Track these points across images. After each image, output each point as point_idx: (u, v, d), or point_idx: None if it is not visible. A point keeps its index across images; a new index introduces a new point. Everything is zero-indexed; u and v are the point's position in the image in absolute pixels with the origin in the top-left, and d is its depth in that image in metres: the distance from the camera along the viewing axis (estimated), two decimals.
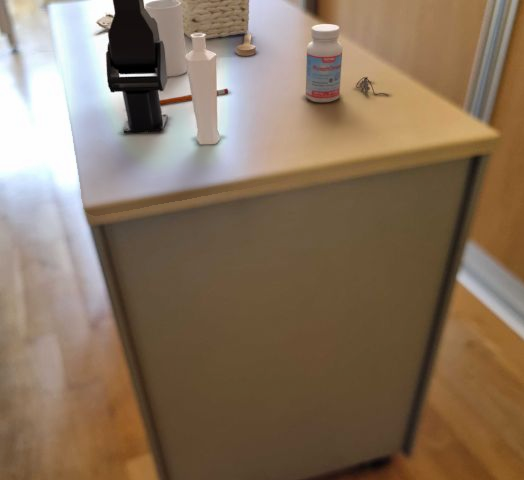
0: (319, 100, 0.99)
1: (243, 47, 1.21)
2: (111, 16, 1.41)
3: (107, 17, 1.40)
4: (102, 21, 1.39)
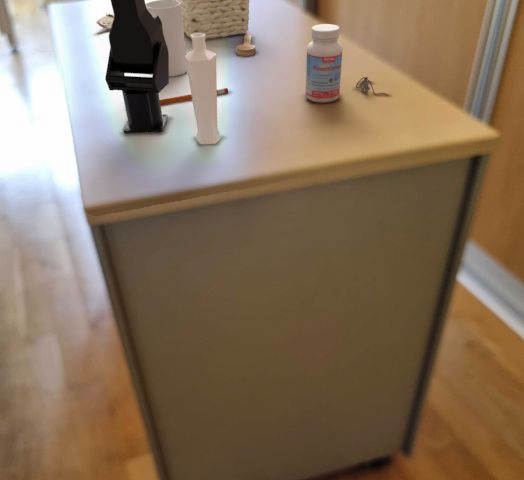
0: (319, 100, 0.99)
1: (243, 47, 1.21)
2: (111, 16, 1.41)
3: (107, 17, 1.40)
4: (102, 21, 1.39)
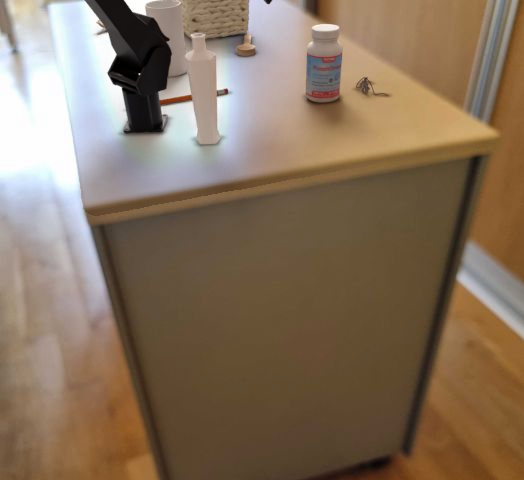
0: (319, 100, 0.99)
1: (243, 47, 1.21)
2: None
3: None
4: None
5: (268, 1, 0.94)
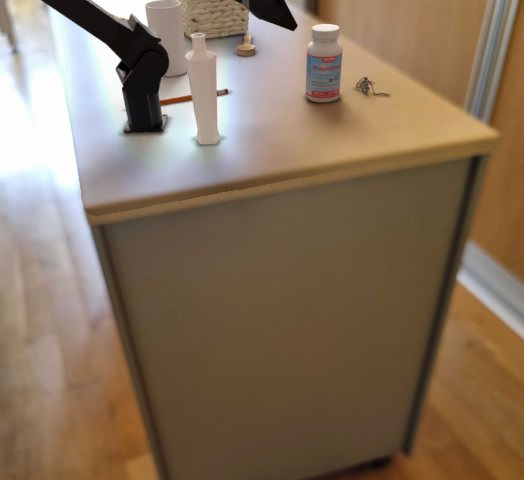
0: (319, 100, 0.99)
1: (243, 47, 1.21)
2: None
3: None
4: None
5: (291, 29, 0.88)
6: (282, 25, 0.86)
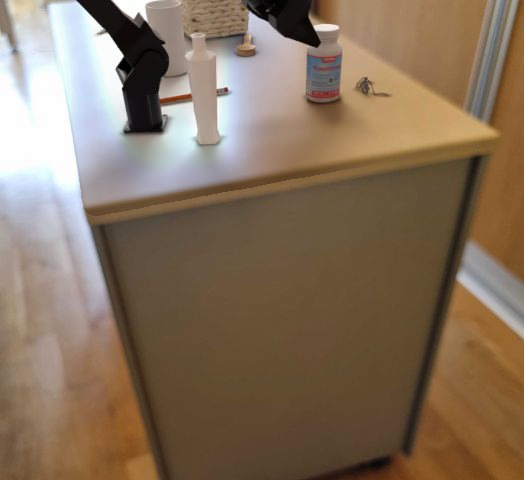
0: (319, 100, 0.99)
1: (243, 47, 1.21)
2: None
3: None
4: None
5: (315, 46, 0.90)
6: (306, 42, 0.89)
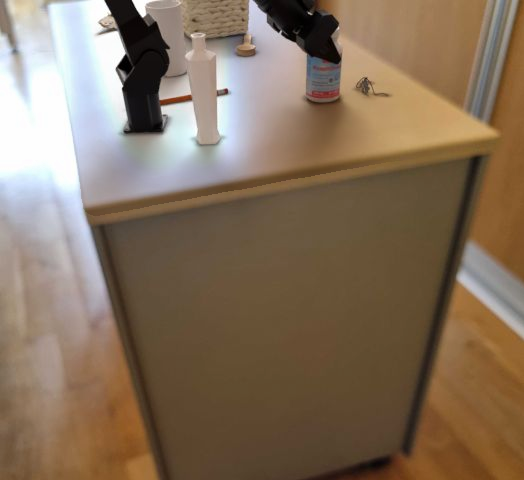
0: (319, 100, 0.99)
1: (243, 47, 1.21)
2: None
3: (109, 17, 1.40)
4: (104, 21, 1.39)
5: (336, 62, 0.95)
6: (328, 59, 0.93)
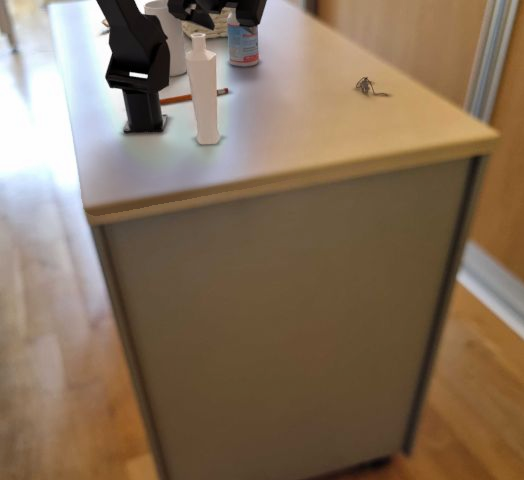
0: (251, 63, 1.15)
1: None
2: None
3: None
4: None
5: (254, 33, 1.08)
6: (252, 31, 1.06)
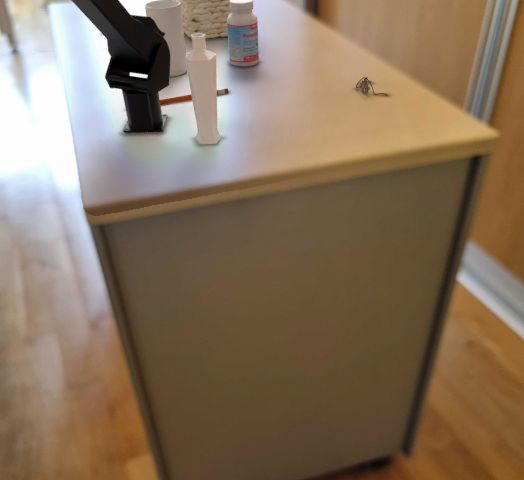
0: (251, 63, 1.15)
1: None
2: None
3: None
4: None
5: None
6: None
